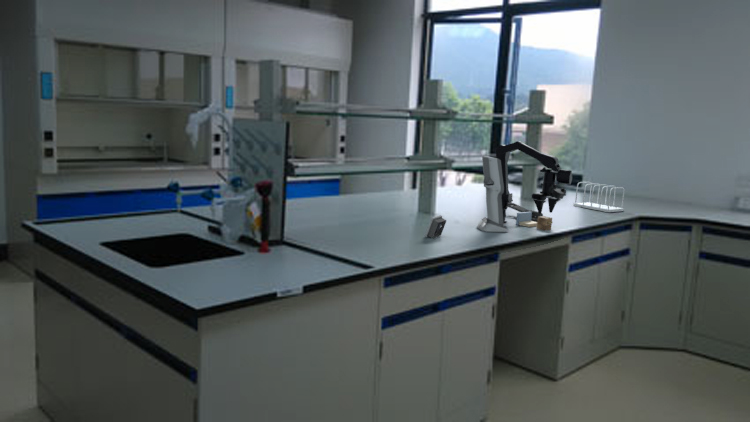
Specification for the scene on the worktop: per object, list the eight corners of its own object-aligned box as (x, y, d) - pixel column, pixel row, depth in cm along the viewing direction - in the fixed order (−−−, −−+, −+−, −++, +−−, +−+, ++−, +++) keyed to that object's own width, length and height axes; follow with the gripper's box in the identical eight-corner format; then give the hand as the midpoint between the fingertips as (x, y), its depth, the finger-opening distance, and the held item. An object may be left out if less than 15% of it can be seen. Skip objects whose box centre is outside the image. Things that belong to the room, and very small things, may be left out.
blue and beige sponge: (540, 225, 307) (541, 214, 306) (527, 227, 300) (528, 215, 299) (528, 222, 313) (530, 211, 312) (515, 224, 306) (517, 212, 305)
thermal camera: (473, 226, 292) (480, 155, 286) (498, 227, 295) (505, 156, 289) (483, 232, 281) (490, 157, 275) (508, 232, 284) (516, 158, 278)
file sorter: (623, 211, 375) (627, 186, 372) (608, 213, 364) (611, 187, 362) (588, 204, 394) (591, 181, 392) (572, 206, 384) (575, 182, 381)
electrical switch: (434, 234, 270) (437, 214, 267) (444, 237, 267) (447, 217, 265) (424, 237, 262) (427, 216, 260) (434, 240, 259) (438, 219, 257)
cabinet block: (552, 230, 297) (554, 218, 296) (546, 231, 294) (548, 219, 293) (542, 227, 302) (543, 216, 301) (536, 228, 299) (537, 216, 298)
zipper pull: (513, 202, 336) (548, 210, 316) (511, 214, 337) (547, 222, 317) (501, 203, 331) (537, 211, 311) (500, 214, 332) (535, 223, 312)
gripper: (552, 184, 282) (548, 217, 285) (574, 183, 294) (570, 214, 297) (532, 181, 291) (528, 213, 293) (554, 180, 303) (550, 210, 305)
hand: (545, 213), depth 297 cm, fingers open, 9 cm apart
